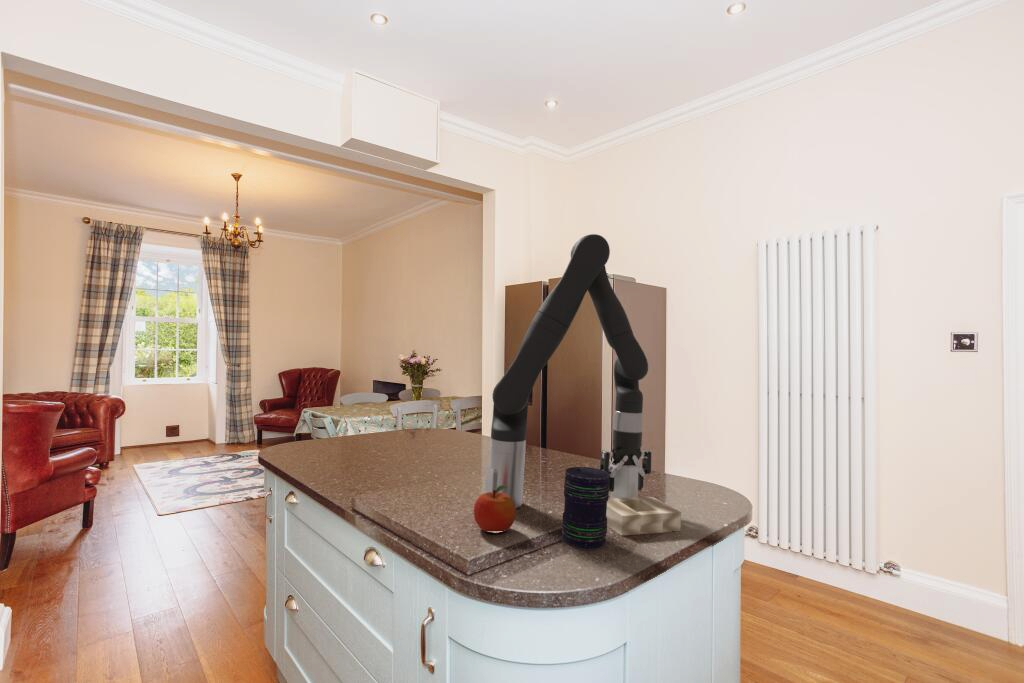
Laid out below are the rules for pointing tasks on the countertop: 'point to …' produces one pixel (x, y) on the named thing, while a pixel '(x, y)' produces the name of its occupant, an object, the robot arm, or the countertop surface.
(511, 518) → the fruit
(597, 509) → the storage jar
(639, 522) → the well block
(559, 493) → the countertop surface
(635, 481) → the skincare box
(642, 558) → the countertop surface
